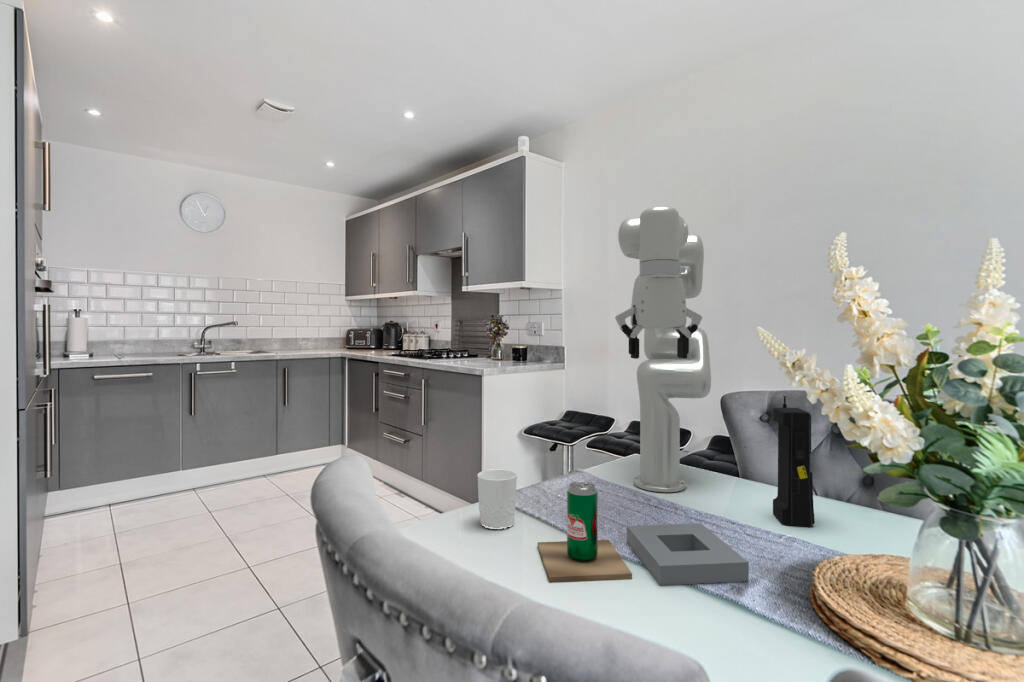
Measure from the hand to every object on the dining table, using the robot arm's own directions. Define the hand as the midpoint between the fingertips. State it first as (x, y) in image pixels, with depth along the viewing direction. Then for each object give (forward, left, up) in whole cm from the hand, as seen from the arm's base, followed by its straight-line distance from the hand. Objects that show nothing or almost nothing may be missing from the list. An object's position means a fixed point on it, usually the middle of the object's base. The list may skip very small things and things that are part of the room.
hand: (658, 358), depth 101 cm
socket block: (+16, -2, -33) cm, 37 cm away
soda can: (+15, -19, -33) cm, 40 cm away
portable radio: (+1, +28, -33) cm, 44 cm away
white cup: (-3, -32, -33) cm, 46 cm away
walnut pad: (+15, -19, -33) cm, 41 cm away
